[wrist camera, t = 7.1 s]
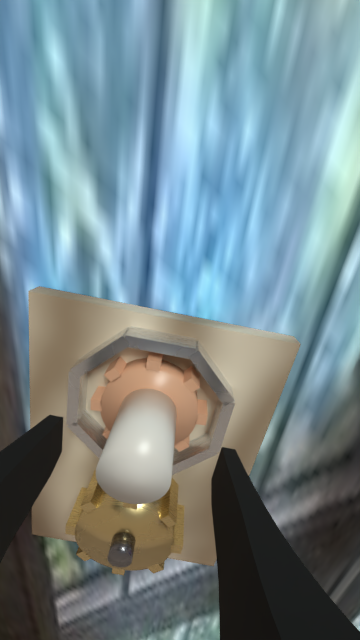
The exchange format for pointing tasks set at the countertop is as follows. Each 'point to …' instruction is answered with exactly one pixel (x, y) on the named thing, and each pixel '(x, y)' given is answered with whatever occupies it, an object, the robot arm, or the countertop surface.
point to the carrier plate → (111, 318)
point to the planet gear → (145, 425)
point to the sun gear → (126, 529)
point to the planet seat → (163, 344)
